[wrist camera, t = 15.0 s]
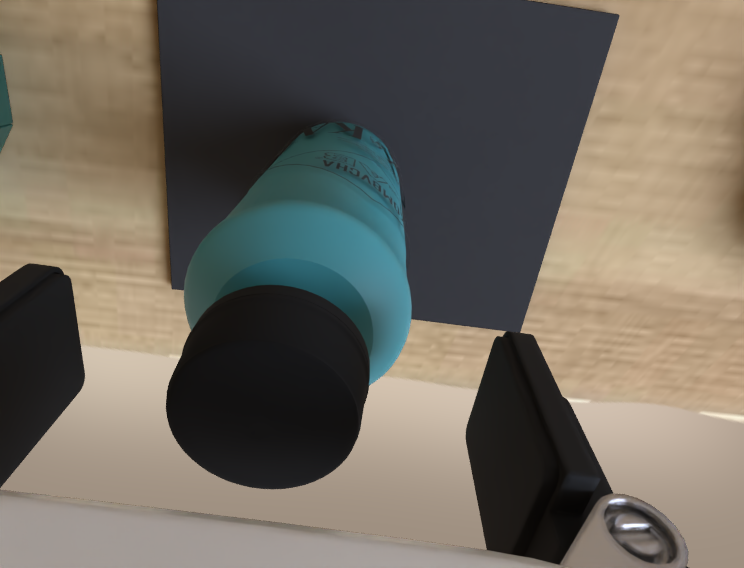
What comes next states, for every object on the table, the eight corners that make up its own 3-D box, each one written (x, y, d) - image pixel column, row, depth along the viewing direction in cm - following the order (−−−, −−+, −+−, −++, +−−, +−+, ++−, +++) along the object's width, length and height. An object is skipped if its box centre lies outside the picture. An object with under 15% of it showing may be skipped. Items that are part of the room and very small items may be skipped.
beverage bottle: (376, 245, 29) (368, 574, 11) (266, 206, 28) (71, 499, 10) (419, 137, 27) (498, 351, 9) (299, 91, 26) (111, 222, 8)
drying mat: (158, -56, 23) (153, -58, 23) (615, 15, 24) (620, 14, 24) (174, 284, 31) (171, 289, 31) (517, 328, 32) (520, 333, 32)
